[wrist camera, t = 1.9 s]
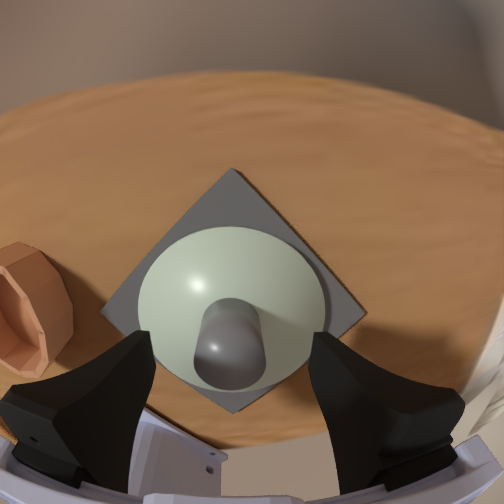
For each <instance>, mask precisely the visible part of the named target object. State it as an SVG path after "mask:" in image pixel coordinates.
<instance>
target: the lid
mask: <svg viewBox="0 0 504 504" xmlns="http://www.w3.org/2000/svg"><path fill="white" fill-rule="evenodd" d="M138 317H139V323H140V327H141V330H144V331H150V337H151V342H152V348H153V353H154V355H155V357H156V358H157V359H158V360H159V361H160V362H161V363H162V364H163V365H164V366H165V367H166V368H167V369H168V370H169V371H171V372H172V373H173V374H175V375H176V376H178V377H179V378H181V379H183V380H185V381H187V382H189V383H191V384H193V385H196V386H198V387H201V388H205V389H209V390H213V391H219V392H246V391H253V390H257V389H261V388H265V387H267V386H270V385H273V384H275V383H277V382H279V381H281V380H283V379H285V378H286V377H288V376H289V375H291V374H292V373H293V372H295V371H296V370H297V369H298V368H299V367H301V366H302V364H303V363H304V362H305V361H306V360H307V359H308V358H309V356H310V354H311V348H312V341H313V334H314V332H322V331H323V326H324V322H325V300H324V295H323V291H322V288H321V285H320V283H319V280H318V278H317V276H316V275H315V273H314V271H313V269H312V268H311V267H310V265H309V264H308V263H307V262H306V260H305V259H304V258H303V257H302V255H301V254H300V253H299V252H297V251H296V250H295V249H294V248H293V247H292V246H291V245H289V244H288V243H286V242H285V241H283V240H282V239H280V238H278V237H276V236H274V235H272V234H270V233H267V232H264V231H262V230H259V229H255V228H250V227H245V226H232V225H229V226H216V227H211V228H206V229H202V230H199V231H196V232H193V233H191V234H189V235H187V236H185V237H183V238H181V239H179V240H178V241H176V242H175V243H173V244H172V245H171V246H169V247H168V248H167V249H166V250H165V251H164V252H163V253H162V254H161V255H160V256H159V257H158V258H157V259H156V261H155V262H154V263H153V264H152V266H151V267H150V269H149V271H148V272H147V274H146V276H145V278H144V280H143V283H142V286H141V289H140V294H139V299H138Z"/></svg>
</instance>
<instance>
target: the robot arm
mask: <svg viewBox="0 0 504 504" xmlns="http://www.w3.org/2000/svg"><path fill="white" fill-rule="evenodd" d="M155 370H156V363H155V358H154V353H153V348H152V342H151V337H150V331H144V330H136V331H134V332H133V333H131V334H130V335H128V336H127V337H126V338H124V339H123V340H122V341H120V342H119V343H117V344H116V345H114V346H113V347H112V348H110V349H109V350H107V351H106V352H104V353H103V354H101V355H99V356H98V357H96V358H95V359H93V360H91V361H90V362H88V363H86V364H84V365H82V366H80V367H78V368H76V369H74V370H72V371H69V372H66V373H64V374H61V375H58V376H56V377H52V378H49V379H46V380H41V381H37V382H32V383H25V384H18V385H12V386H11V388H10V389H9V390H8V391H7V393H6V394H5V395H4V396H3V398H2V399H1V400H0V415H1V416H2V418H3V420H4V421H5V423H6V424H7V426H8V427H9V429H10V430H11V431H12V433H13V434H14V435H15V437H16V438H17V439H18V442H17V444H16V446H15V445H14V444H13V443H12V442H11V441H9V440H8V439H6V438H4V437H3V436H1V435H0V498H1V499H3V500H4V501H5V502H7V503H8V504H469V503H470V502H472V501H473V500H474V499H475V498H477V496H479V495H480V494H481V493H482V492H483V491H484V490H485V489H487V488H488V487H489V486H490V485H491V484H492V483H493V482H494V481H495V480H497V479H498V478H499V477H500V475H501V474H503V472H504V469H503V468H502V467H501V465H500V464H499V462H498V461H497V459H496V458H495V457H494V455H493V454H492V452H491V451H490V450H489V449H488V447H487V446H486V444H485V443H484V442H483V440H482V439H481V438H480V436H479V435H475V436H473V437H471V438H470V439H468V440H466V441H464V442H462V443H461V444H459V445H458V446H456V447H455V448H454V449H453V447H452V446H451V445H450V444H451V443H452V442H453V438H452V437H451V435H450V433H451V432H452V430H453V429H454V427H455V426H456V424H457V423H458V421H459V420H460V418H461V416H462V415H463V412H464V409H465V402H464V401H463V399H462V398H461V397H460V396H459V395H458V393H457V392H456V391H455V390H454V389H451V388H444V387H437V386H431V385H427V384H423V383H419V382H415V381H412V380H409V379H406V378H403V377H401V376H398V375H396V374H393V373H391V372H389V371H387V370H385V369H383V368H381V367H379V366H377V365H375V364H373V363H372V362H370V361H368V360H367V359H365V358H363V357H362V356H360V355H359V354H358V353H356V352H355V351H353V350H352V349H350V348H349V347H348V346H346V345H345V344H344V343H342V342H341V341H340V340H338V339H337V338H336V337H334V336H333V335H332V334H330V333H329V332H327V331H325V332H314V334H313V341H312V348H311V354H310V360H309V366H308V370H309V374H310V379H311V383H312V387H313V390H314V393H315V395H316V398H317V400H318V403H319V406H320V408H321V411H322V413H323V416H324V419H325V421H326V424H327V427H328V430H329V434H330V438H331V443H332V447H333V452H334V457H335V462H336V468H337V474H338V481H339V489H340V496H335V497H330V498H325V499H319V500H314V501H307V502H304V501H303V500H302V499H300V498H296V497H292V496H288V495H265V496H221V462H223V461H225V460H227V459H228V455H227V454H226V453H224V452H222V451H220V450H218V449H216V448H214V447H212V446H210V445H208V444H206V443H204V442H202V441H200V440H198V439H197V438H195V437H193V436H191V435H189V434H188V433H186V432H184V431H182V430H181V429H179V428H177V427H176V426H174V425H172V424H171V423H169V422H167V421H166V420H164V419H163V418H161V417H159V416H158V415H156V414H155V413H153V412H152V411H150V410H149V409H147V408H146V407H144V406H145V404H146V401H147V398H148V396H149V393H150V390H151V387H152V384H153V380H154V375H155Z"/></svg>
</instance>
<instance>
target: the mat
mask: <svg viewBox="0 0 504 504" xmlns="http://www.w3.org/2000/svg"><path fill="white" fill-rule="evenodd" d="M229 225H232V226H245V227H250V228H255V229H259V230H262V231H264V232H267V233H270V234H272V235H274V236H276V237H278V238H280V239H282V240H283V241H285V242H286V243H288V244H289V245H291V246H292V247H293V248H294V249H295V250H296V251H297V252H299V253H300V254H301V255H302V257H303V258H304V259H305V260H306V262H307V263H308V264H309V265H310V267H311V268H312V269H313V271H314V273H315V275H316V276H317V278H318V280H319V283H320V285H321V288H322V291H323V295H324V300H325V322H324V326H323V331H322V332H325V331H327V332H329V333H330V334H332V335H333V336H334V337H336V338H338V337H339V336H341V335H342V334H343V333H344V332H345V331H347V330H348V329H349V328H350V327H351V326H352V325H353V324H355V323H356V322H357V321H358V320H359V319H360V318H361V317H362V316H363V315H365V312H364V311H363V310H362V309H361V308H360V307H359V305H358V304H357V303H356V302H355V301H354V299H353V298H352V297H351V296H350V295H349V294H348V292H347V291H346V290H345V289H344V288H343V287H342V286H341V284H340V283H339V282H338V281H337V280H336V279H335V277H334V276H333V275H332V274H331V273H330V272H329V271H328V270H327V268H326V267H325V266H324V265H323V264H322V263H321V262H320V261H319V259H318V258H317V257H316V256H315V255H314V254H313V253H312V252H311V250H310V249H309V248H308V247H307V246H306V245H305V244H304V243H303V242H302V241H301V239H300V238H299V237H298V236H297V235H296V234H295V233H294V232H293V231H292V230H291V229H290V228H289V226H288V225H287V224H286V223H285V222H284V221H283V220H282V219H281V218H280V217H279V216H278V215H277V214H276V213H275V211H274V210H273V209H272V208H271V207H270V206H269V205H268V204H267V203H266V202H265V201H264V200H263V199H262V198H261V197H260V196H259V195H258V194H257V193H256V192H255V191H254V190H253V188H252V187H251V186H250V185H249V184H248V183H247V182H246V181H245V180H244V179H243V178H242V177H241V176H240V175H239V174H238V173H237V172H236V171H235V170H234V169H233V168H231V169H230V170H229V171H227V172H226V173H225V174H224V175H223V176H222V177H221V178H220V179H219V180H218V181H217V182H216V183H215V184H214V185H213V186H212V187H211V188H210V189H209V190H208V191H207V192H206V193H205V194H204V195H203V196H202V197H201V198H200V199H199V200H198V201H197V202H196V203H195V204H194V205H193V206H192V207H191V208H190V209H189V210H188V211H187V212H186V213H185V215H184V216H183V217H182V218H181V219H180V220H179V221H178V222H177V223H176V224H175V225H174V226H173V227H172V228H171V229H170V230H169V231H168V233H167V234H166V235H165V236H164V237H163V238H162V239H161V240H160V241H159V242H158V243H157V245H156V246H155V247H154V248H153V249H152V250H151V251H150V252H149V254H148V255H147V256H146V257H145V258H144V259H143V260H142V261H141V263H140V264H139V265H138V266H137V267H136V268H135V270H134V271H133V272H132V273H131V274H130V275H129V277H128V278H127V279H126V280H125V281H124V282H123V284H122V285H121V286H120V287H119V288H118V290H117V291H116V292H115V293H114V295H113V296H112V297H111V298H110V299H109V301H108V302H107V303H106V304H105V306H104V307H103V308H102V309H101V311H100V313H101V314H102V315H103V316H104V317H105V318H106V319H107V320H108V321H110V322H111V323H112V324H113V325H114V326H115V327H116V328H117V329H118V330H119V331H121V332H122V333H123V334H124V335H125V336H126V337H127V336H128V335H130V334H131V333H133V332H134V331H136V330H141V327H140V323H139V317H138V299H139V294H140V289H141V286H142V283H143V280H144V278H145V276H146V274H147V272H148V271H149V269H150V267H151V266H152V264H153V263H154V262H155V261H156V259H157V258H158V257H159V256H160V255H161V254H162V253H163V252H164V251H165V250H166V249H167V248H168V247H169V246H171V245H172V244H173V243H175V242H176V241H178V240H179V239H181V238H183V237H185V236H187V235H189V234H191V233H193V232H196V231H199V230H202V229H206V228H211V227H216V226H229ZM154 358H155V361H157V362H158V363H159V364H161V365H162V366H163V367H164V368H166V367H165V366H164V365H163V364H162V363H161V362H160V361H159V360H158V359H157V358H156V357H155V355H154ZM309 360H310V356H309V358H308V359H307V360H306V361H305V362H304V363H303V364H302V366H303V365H305V364H306V363H307V362H309ZM302 366H301V367H302ZM301 367H299V368H301ZM299 368H298V369H299ZM166 369H167V368H166ZM298 369H297V370H298ZM167 370H168V369H167ZM297 370H296V371H297ZM168 371H169V370H168ZM170 372H171V371H170ZM171 373H172V372H171ZM293 373H294V372H293ZM293 373H292V374H293ZM172 374H173V373H172ZM174 375H175V374H174ZM175 376H176V375H175ZM289 376H290V375H289ZM289 376H288V377H289ZM176 377H178V376H176ZM178 378H179V377H178ZM286 378H287V377H286ZM286 378H285V379H286ZM179 379H181V378H179ZM285 379H283V380H285ZM181 380H182V381H183V382H185V383H186V384H188V385H189V386H191V387H192V388H193V389H195V390H196V391H198V392H199V393H201V394H202V395H204V396H205V397H207V398H208V399H210V400H211V401H213V402H214V403H216V404H218V405H219V406H221V407H222V408H224V409H226V410H227V411H229V412H230V413H232V414H234V413H235V412H237V411H239V410H240V409H242V408H243V407H245V406H247V405H248V404H250V403H251V402H253V401H254V400H256V399H257V398H259V397H260V396H262V395H263V394H265V393H266V392H268V391H269V390H270V389H272V388H273V387H275V386H276V385H278V384H279V383H280V382H282V381H283V380H281V381H279V382H277V383H275V384H273V385H270V386H267V387H265V388H261V389H257V390H253V391H246V392H219V391H213V390H209V389H205V388H201V387H198V386H196V385H193V384H191V383H189V382H187V381H185V380H183V379H181Z"/></svg>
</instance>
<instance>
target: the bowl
mask: <svg viewBox="0 0 504 504" xmlns="http://www.w3.org/2000/svg"><path fill="white" fill-rule="evenodd" d="M73 334H74V325H73V305H72V302H71V300H70V298H69V295H68V293H67V291H66V288H65V286H64V283H63V281H62V278H61V275H60V274H59V273H58V272H57V270H56V269H55V268H54V267H53V266H52V265H51V264H50V262H49V261H48V260H47V259H46V258H45V256H44V255H43V254H42V253H41V252H40V250H37V249H35V248H32V247H30V246H27V245H25V244H22V243H20V242H16V243H14V244H11V245H9V246H7V247H4V248H2V249H0V363H1V364H2V365H4V366H5V367H7V368H8V369H10V370H11V371H13V372H15V373H16V374H18V375H19V376H21V377H41V376H42V374H43V373H44V372H45V371H46V369H47V368H48V367H49V366H50V364H51V363H52V362H53V361H54V360H55V358H56V357H57V356H58V355H59V354H60V352H61V351H62V350H63V348H64V347H65V345H66V344H67V343H68V341H69V340H70V338H71V337H72V335H73Z"/></svg>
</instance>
